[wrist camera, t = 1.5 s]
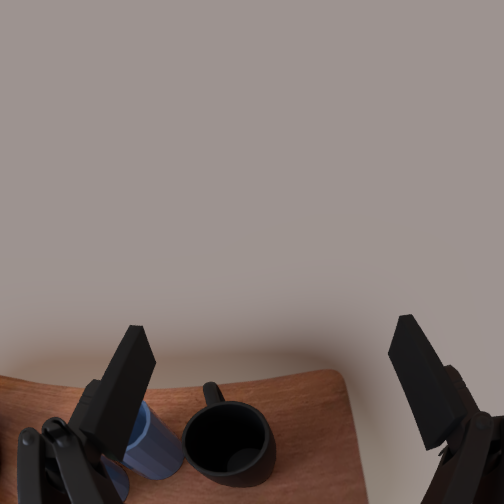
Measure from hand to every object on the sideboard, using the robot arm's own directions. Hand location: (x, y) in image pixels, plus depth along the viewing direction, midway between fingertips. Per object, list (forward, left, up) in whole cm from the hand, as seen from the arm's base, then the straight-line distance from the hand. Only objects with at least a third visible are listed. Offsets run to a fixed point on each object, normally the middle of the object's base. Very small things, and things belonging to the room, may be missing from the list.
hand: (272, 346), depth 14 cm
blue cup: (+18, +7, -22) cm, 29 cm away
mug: (+8, +1, -22) cm, 23 cm away
